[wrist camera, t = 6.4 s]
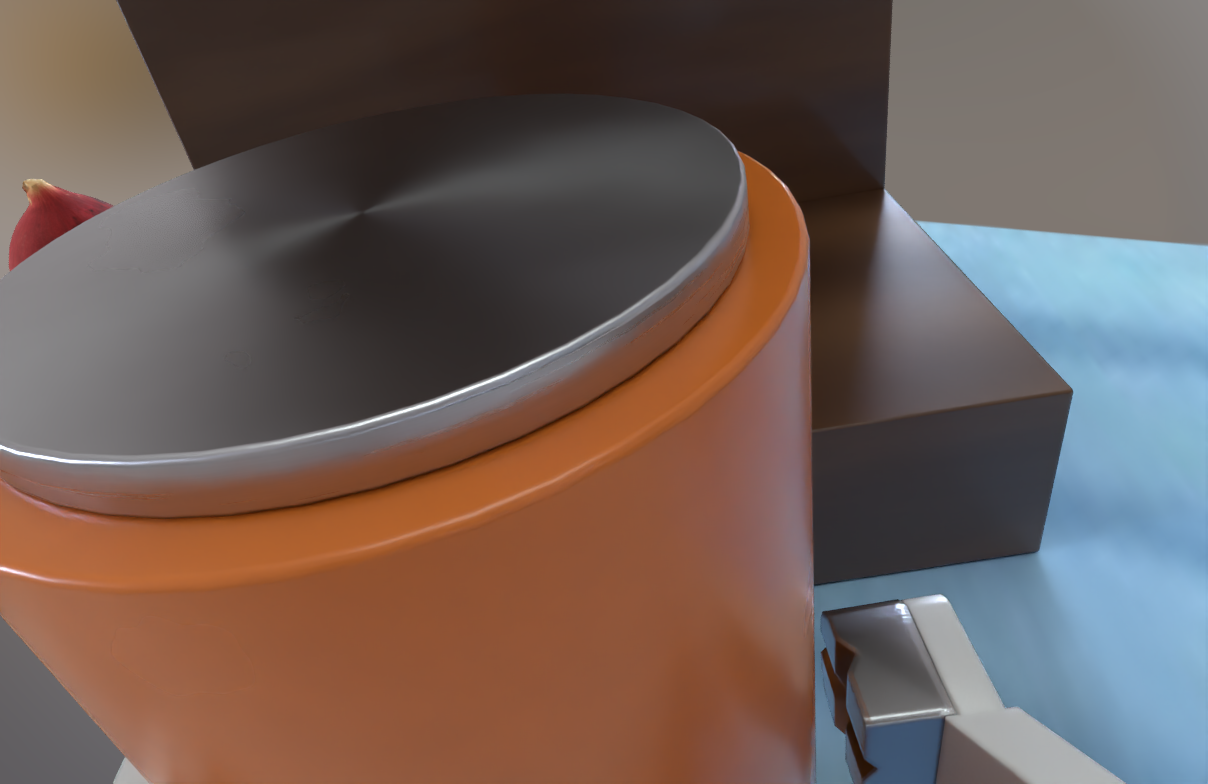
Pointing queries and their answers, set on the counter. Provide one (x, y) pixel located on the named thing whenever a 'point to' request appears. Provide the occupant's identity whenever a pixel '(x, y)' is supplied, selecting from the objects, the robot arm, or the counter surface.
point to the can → (426, 457)
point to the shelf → (756, 128)
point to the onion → (49, 217)
